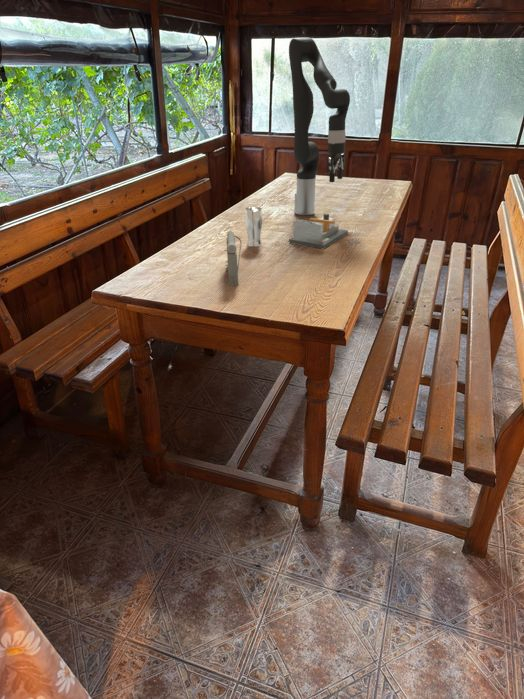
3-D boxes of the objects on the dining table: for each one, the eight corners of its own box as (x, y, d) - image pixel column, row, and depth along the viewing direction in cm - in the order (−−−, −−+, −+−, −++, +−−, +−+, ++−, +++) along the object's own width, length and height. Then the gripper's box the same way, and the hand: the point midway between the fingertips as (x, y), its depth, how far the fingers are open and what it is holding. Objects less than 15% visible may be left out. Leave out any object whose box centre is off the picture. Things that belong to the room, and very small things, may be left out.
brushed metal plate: (293, 239, 206) (293, 220, 202) (296, 238, 208) (297, 219, 204) (319, 244, 200) (320, 224, 196) (322, 242, 202) (323, 223, 198)
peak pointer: (309, 230, 216) (309, 218, 213) (310, 230, 216) (310, 217, 214) (333, 234, 210) (334, 221, 207) (334, 234, 211) (335, 221, 208)
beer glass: (264, 243, 207) (264, 207, 200) (259, 248, 202) (258, 211, 194) (249, 241, 209) (248, 206, 202) (243, 246, 204) (242, 210, 196)
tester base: (289, 242, 208) (289, 234, 206) (315, 228, 225) (315, 221, 223) (323, 248, 200) (323, 240, 198) (347, 233, 218) (348, 225, 216)
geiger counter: (222, 228, 178) (224, 250, 156) (240, 228, 178) (244, 250, 157) (225, 265, 185) (226, 291, 163) (242, 264, 185) (245, 290, 163)
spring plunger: (316, 231, 215) (316, 215, 212) (322, 227, 220) (323, 212, 216) (328, 233, 212) (329, 217, 209) (334, 229, 217) (335, 213, 213)
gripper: (335, 139, 221) (334, 177, 228) (321, 143, 210) (321, 182, 218) (351, 139, 217) (349, 178, 225) (337, 143, 207) (337, 183, 214)
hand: (335, 180), depth 221 cm, fingers open, 8 cm apart
